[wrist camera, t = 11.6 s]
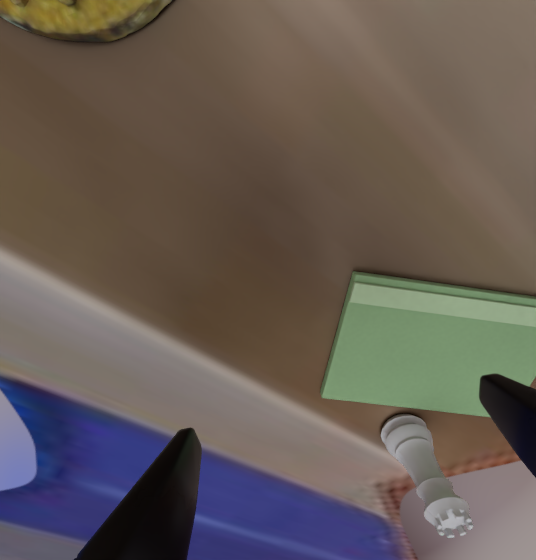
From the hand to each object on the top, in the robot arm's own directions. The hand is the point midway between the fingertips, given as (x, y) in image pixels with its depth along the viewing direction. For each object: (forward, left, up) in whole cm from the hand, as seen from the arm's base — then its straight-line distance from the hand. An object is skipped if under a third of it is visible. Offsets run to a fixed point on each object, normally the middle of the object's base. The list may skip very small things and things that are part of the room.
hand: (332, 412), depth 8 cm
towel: (-13, +5, -13) cm, 19 cm away
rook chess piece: (-13, +14, -13) cm, 24 cm away
